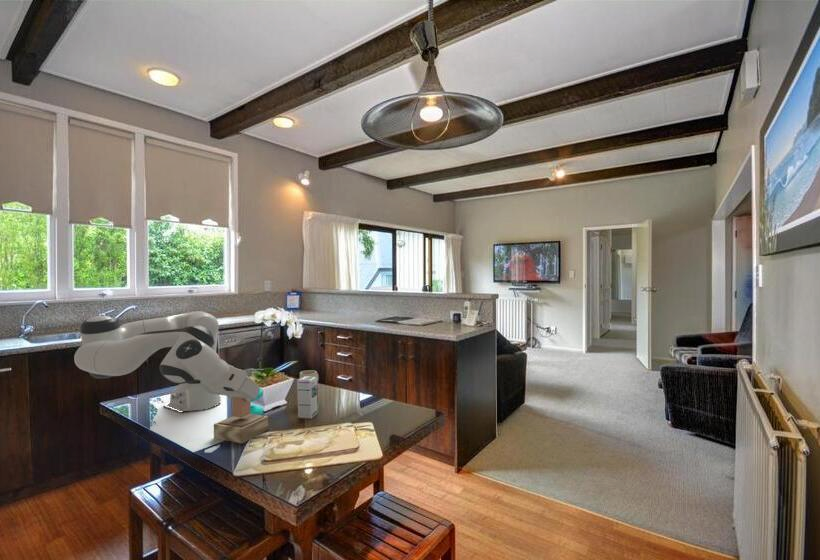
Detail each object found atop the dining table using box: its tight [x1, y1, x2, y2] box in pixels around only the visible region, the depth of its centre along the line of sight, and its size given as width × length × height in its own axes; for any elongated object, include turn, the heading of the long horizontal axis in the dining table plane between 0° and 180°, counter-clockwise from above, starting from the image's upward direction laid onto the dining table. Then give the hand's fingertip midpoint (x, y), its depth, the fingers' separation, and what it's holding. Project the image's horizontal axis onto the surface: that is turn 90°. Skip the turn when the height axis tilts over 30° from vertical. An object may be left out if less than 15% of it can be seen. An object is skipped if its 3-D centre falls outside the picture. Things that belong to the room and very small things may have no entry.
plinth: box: [213, 414, 269, 444], centre depth 130 cm, size 12×12×5 cm
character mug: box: [297, 369, 319, 382], centre depth 162 cm, size 11×7×13 cm, turn 146°
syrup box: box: [296, 376, 319, 419], centre depth 146 cm, size 6×6×14 cm
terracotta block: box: [231, 397, 251, 418], centre depth 130 cm, size 4×4×9 cm
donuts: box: [250, 388, 264, 415], centre depth 146 cm, size 10×10×10 cm
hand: (242, 399), depth 130 cm, fingers closed on terracotta block, 4 cm apart
